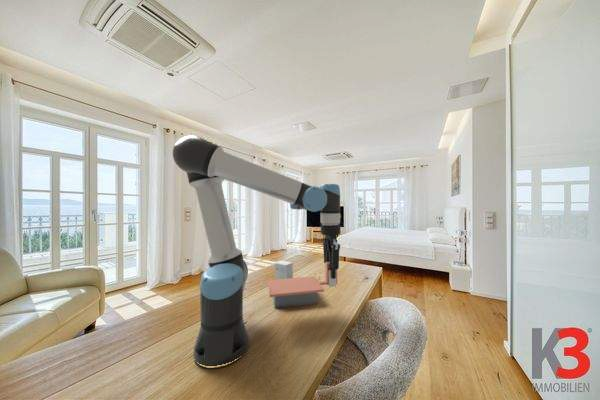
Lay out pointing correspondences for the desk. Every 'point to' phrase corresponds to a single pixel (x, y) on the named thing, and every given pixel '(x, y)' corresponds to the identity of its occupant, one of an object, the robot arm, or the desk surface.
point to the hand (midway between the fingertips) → (331, 284)
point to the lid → (298, 285)
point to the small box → (283, 270)
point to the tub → (295, 300)
